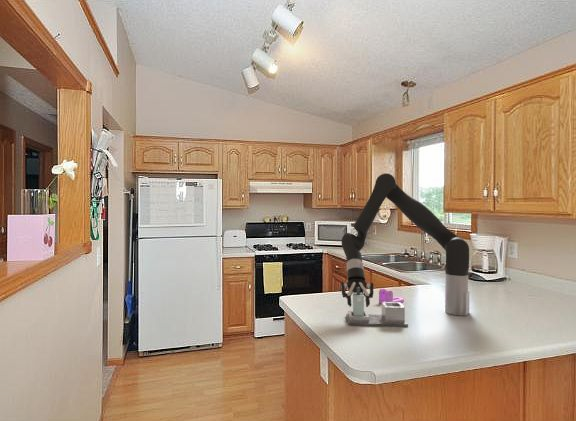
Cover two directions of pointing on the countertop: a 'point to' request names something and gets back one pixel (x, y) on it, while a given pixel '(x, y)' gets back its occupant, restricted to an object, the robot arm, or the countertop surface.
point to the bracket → (388, 296)
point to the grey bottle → (358, 303)
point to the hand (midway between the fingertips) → (358, 305)
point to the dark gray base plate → (381, 316)
